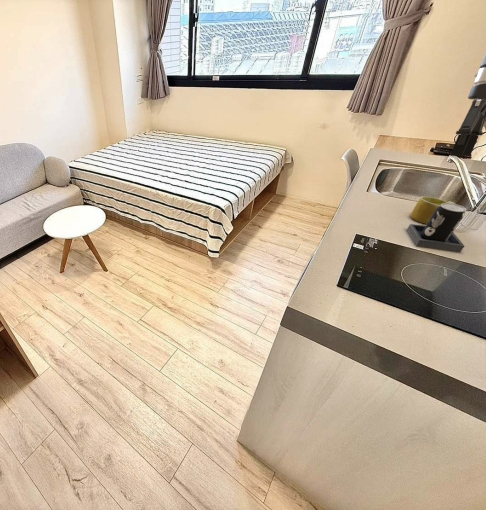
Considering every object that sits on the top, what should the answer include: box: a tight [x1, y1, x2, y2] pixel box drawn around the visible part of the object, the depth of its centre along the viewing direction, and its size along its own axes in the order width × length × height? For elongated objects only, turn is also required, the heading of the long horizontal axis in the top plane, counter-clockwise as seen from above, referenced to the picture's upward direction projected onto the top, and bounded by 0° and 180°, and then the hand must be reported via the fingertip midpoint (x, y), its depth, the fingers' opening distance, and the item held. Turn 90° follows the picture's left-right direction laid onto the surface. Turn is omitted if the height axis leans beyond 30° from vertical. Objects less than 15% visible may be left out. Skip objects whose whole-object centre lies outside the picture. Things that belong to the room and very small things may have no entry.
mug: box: [410, 195, 456, 226], centre depth 102 cm, size 12×10×10 cm
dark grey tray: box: [406, 223, 466, 254], centre depth 93 cm, size 11×11×3 cm
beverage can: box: [421, 203, 467, 242], centre depth 90 cm, size 7×7×12 cm
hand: (460, 155), depth 94 cm, fingers open, 13 cm apart
